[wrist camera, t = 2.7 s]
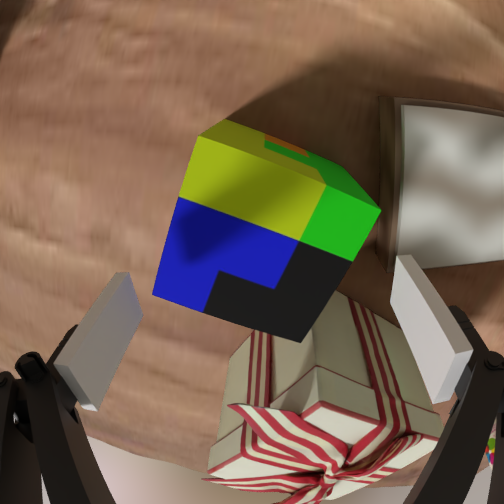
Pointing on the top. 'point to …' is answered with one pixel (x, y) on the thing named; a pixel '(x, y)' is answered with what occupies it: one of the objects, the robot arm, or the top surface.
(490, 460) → the aerosol can
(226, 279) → the puzzle toy
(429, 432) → the gift box
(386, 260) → the stand
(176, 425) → the top surface
